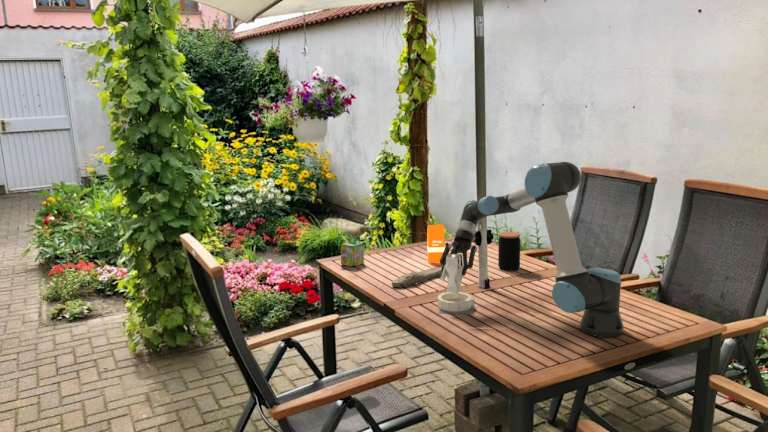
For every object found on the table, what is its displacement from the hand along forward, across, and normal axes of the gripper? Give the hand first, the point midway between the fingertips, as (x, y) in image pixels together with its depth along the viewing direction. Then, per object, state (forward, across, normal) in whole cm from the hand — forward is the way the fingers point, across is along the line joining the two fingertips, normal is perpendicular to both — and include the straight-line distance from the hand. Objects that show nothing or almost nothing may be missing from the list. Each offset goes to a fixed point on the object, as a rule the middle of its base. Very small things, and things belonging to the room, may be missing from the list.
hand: (450, 280), depth 244 cm
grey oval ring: (+6, -1, -12) cm, 13 cm away
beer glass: (+1, 0, -6) cm, 7 cm away
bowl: (+6, 0, -11) cm, 13 cm away
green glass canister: (-21, +75, -40) cm, 87 cm away
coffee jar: (-39, -3, -58) cm, 70 cm away
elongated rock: (-14, +30, -33) cm, 47 cm away
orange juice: (-38, +36, -56) cm, 77 cm away
